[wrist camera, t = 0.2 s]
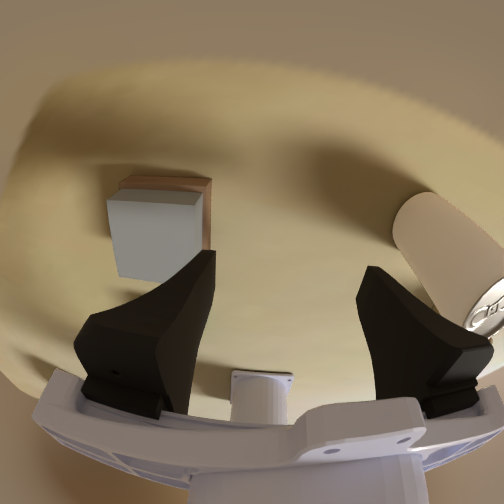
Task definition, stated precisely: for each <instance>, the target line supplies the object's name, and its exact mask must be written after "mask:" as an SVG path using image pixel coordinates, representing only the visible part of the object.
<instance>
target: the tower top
mask: <svg viewBox="0 0 504 504" xmlns="http://www.w3.org/2000/svg"><path fill="white" fill-rule="evenodd" d="M106 202H107V210H108V218H109V225H110V231H111V238H112V244H113V249H114V255H115V260H116V265H117V270H118V275H119V277H125V278H131V279H138V280H144V281H151V282H158V283H164V282H166V281H167V280H168V279H169V278H171V277H172V276H173V275H175V274H176V273H177V272H178V271H179V270H181V269H182V268H183V267H184V266H185V265H186V264H187V263H188V262H189V261H191V260H192V259H193V258H194V257H195V256H196V255H197V254H198V253H199V252H200V251H201V250H202V208H203V193H197V192H183V191H166V190H146V189H121V190H119V191H118V192H117V193H115V194H114V195H113V196H111V197H110V198H109V199H107V200H106Z"/></svg>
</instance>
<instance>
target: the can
mask: <svg viewBox="0 0 504 504" xmlns="http://www.w3.org/2000/svg"><path fill="white" fill-rule="evenodd" d="M392 233H393V239H394V242H395V244H396V246H397V248H398V249H399V251H400V252H401V254H402V255H403V257H404V258H405V260H406V261H407V263H408V264H409V266H410V267H411V268H412V270H413V271H414V273H415V274H416V276H417V278H418V279H419V281H420V282H421V284H422V285H423V287H424V288H425V290H426V292H427V293H428V295H429V296H430V298H431V300H432V301H433V303H434V305H435V306H436V308H437V310H438V311H439V313H440V315H441V316H443V317H444V318H446V319H448V320H449V321H451V322H453V323H455V324H457V325H459V326H461V327H463V328H465V329H467V330H469V331H472V332H474V333H477V334H480V335H482V336H485V337H487V338H488V339H489V338H491V337H492V336H494V335H495V334H496V333H497V332H499V331H500V330H501V329H502V328H503V327H504V248H502V247H501V246H500V245H499V244H498V243H497V242H496V241H495V240H494V239H493V238H492V237H491V236H490V235H489V234H487V233H486V232H485V231H484V230H483V229H482V228H481V227H479V226H478V225H477V224H476V223H475V222H474V221H472V220H471V219H470V218H469V217H467V216H466V215H465V214H464V213H463V212H461V211H460V210H459V209H457V208H456V207H455V206H453V205H452V204H451V203H449V202H448V201H447V200H445V199H444V198H443V197H441V196H439V195H438V194H435V193H432V192H423V193H419V194H417V195H415V196H413V197H411V198H410V199H409V200H407V201H406V202H405V203H404V204H403V206H402V207H401V208H400V210H399V211H398V213H397V215H396V218H395V220H394V224H393V231H392Z"/></svg>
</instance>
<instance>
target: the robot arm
mask: <svg viewBox="0 0 504 504" xmlns="http://www.w3.org/2000/svg"><path fill="white" fill-rule="evenodd" d="M215 268H216V251H214V250H204V249H203V250H201V251H200V252H199V253H198V254H197V255H196V256H195V257H194V258H193V259H192V260H191V261H189V262H188V263H187V264H186V265H185V266H184V267H183V268H182V269H181V270H179V271H178V272H177V273H176V274H175V275H173V276H172V277H171V278H169V279H168V280H167V281H166V282H164V283H163V284H161V285H160V286H158V287H157V288H155V289H153V290H152V291H150V292H148V293H146V294H144V295H142V296H140V297H139V298H137V299H135V300H133V301H130V302H128V303H126V304H123V305H120V306H118V307H115V308H112V309H109V310H106V311H102V312H99V313H96V314H92V315H90V316H89V318H88V319H87V321H86V322H85V324H84V325H83V327H82V329H81V330H80V332H79V334H78V335H77V337H76V339H75V341H74V349H75V352H76V354H77V357H78V358H79V360H80V362H81V364H82V365H83V367H84V369H85V370H86V372H87V374H88V376H87V378H86V380H85V382H84V380H82V379H81V378H80V377H78V376H75V375H73V374H70V373H67V372H65V371H62V370H60V369H55V370H54V372H53V374H52V376H51V378H50V379H49V381H48V383H47V385H46V387H45V389H44V391H43V393H42V395H41V397H40V399H39V401H38V403H37V405H36V408H35V410H34V412H33V414H32V416H31V417H32V419H33V420H34V421H35V422H36V423H37V424H38V425H39V426H40V427H41V428H43V429H44V430H45V431H46V432H47V433H48V434H50V435H51V436H52V437H53V438H55V439H56V440H57V441H58V442H60V443H61V444H62V445H64V446H66V447H69V448H71V449H73V450H75V451H77V452H79V453H81V454H83V455H86V456H88V457H90V458H92V459H95V460H97V461H99V462H102V463H104V464H106V465H109V466H112V467H114V468H117V469H119V470H122V471H125V472H127V473H130V474H133V475H136V476H139V477H142V478H145V479H148V480H152V481H155V482H158V483H162V484H165V485H169V486H173V487H177V488H181V489H186V490H189V494H188V501H187V504H429V499H428V492H427V486H426V480H425V476H424V472H426V471H429V470H431V469H433V468H436V467H438V466H441V465H443V464H446V463H447V462H450V461H452V460H454V459H457V458H459V457H461V456H463V455H465V454H468V453H469V452H472V451H474V450H475V449H478V448H479V447H481V446H482V445H484V444H485V443H486V442H488V441H489V440H490V439H492V438H493V437H494V436H496V435H497V434H498V433H500V432H501V431H502V430H503V429H504V405H503V402H502V400H501V397H500V395H499V393H498V391H497V388H496V386H495V385H491V386H488V387H485V388H482V389H480V390H479V391H476V389H475V386H477V384H478V382H477V380H476V377H477V376H478V375H479V374H480V373H481V372H482V370H483V369H484V368H485V367H486V366H487V364H488V363H489V362H490V360H491V358H492V356H493V353H494V348H493V346H492V344H491V343H490V341H489V339H488V338H487V337H485V336H482V335H480V334H477V333H474V332H472V331H469V330H467V329H465V328H463V327H461V326H459V325H457V324H455V323H453V322H451V321H449V320H448V319H446V318H444V317H443V316H441V315H439V314H438V313H436V312H435V311H433V310H432V309H431V308H429V307H428V306H426V305H425V304H424V303H422V302H421V301H420V300H419V299H417V298H416V297H415V296H414V295H412V294H411V293H410V292H409V291H408V290H406V289H405V288H404V287H403V286H402V285H401V284H400V283H398V282H397V281H396V280H395V279H394V278H393V277H391V276H390V275H389V274H388V273H387V272H385V271H384V270H383V269H381V268H380V267H376V266H367V269H366V272H365V275H364V278H363V281H362V283H361V286H360V289H359V291H358V294H357V296H356V304H357V310H358V315H359V319H360V322H361V325H362V328H363V332H364V335H365V338H366V341H367V344H368V348H369V351H370V355H371V359H372V365H373V371H374V379H375V389H376V400H373V401H361V402H346V403H334V404H328V405H322V406H319V407H316V408H313V409H311V410H308V411H307V412H305V413H304V414H303V415H302V416H300V417H299V418H298V419H297V420H296V422H295V424H294V425H288V422H287V395H288V393H289V390H290V388H291V385H292V382H293V380H294V375H293V374H278V373H262V372H249V371H238V370H234V371H232V375H231V396H230V404H232V409H231V418H230V421H224V420H215V419H208V418H201V417H195V416H189V415H188V407H189V399H190V393H191V386H192V380H193V374H194V368H195V363H196V357H197V352H198V348H199V344H200V340H201V337H202V334H203V331H204V328H205V325H206V322H207V319H208V315H209V312H210V309H211V306H212V301H213V296H214V291H215Z"/></svg>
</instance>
